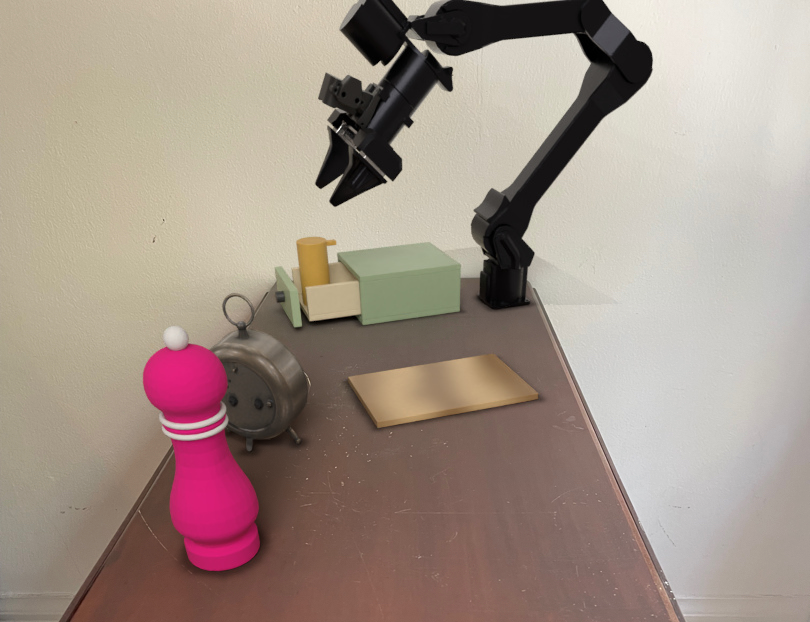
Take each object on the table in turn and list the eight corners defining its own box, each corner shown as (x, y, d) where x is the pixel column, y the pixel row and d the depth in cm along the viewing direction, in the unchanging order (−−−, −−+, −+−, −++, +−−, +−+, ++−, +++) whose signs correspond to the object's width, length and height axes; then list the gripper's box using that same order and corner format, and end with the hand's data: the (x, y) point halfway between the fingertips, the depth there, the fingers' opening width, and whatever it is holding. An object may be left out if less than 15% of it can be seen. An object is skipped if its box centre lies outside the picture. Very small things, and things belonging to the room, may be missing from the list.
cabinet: (362, 325, 104) (359, 276, 100) (340, 297, 114) (336, 252, 110) (459, 311, 108) (461, 264, 104) (429, 285, 118) (429, 241, 114)
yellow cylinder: (336, 295, 109) (331, 234, 104) (343, 303, 106) (338, 241, 101) (300, 299, 108) (293, 238, 103) (306, 308, 105) (299, 245, 99)
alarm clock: (315, 438, 77) (298, 289, 67) (294, 462, 73) (272, 307, 63) (229, 424, 80) (200, 280, 70) (203, 447, 76) (169, 297, 66)
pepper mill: (247, 580, 58) (198, 348, 46) (167, 570, 59) (99, 342, 47) (277, 529, 63) (240, 311, 51) (203, 521, 65) (150, 306, 53)
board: (493, 358, 93) (493, 353, 92) (538, 399, 83) (538, 393, 83) (348, 382, 88) (347, 376, 88) (377, 428, 78) (377, 421, 78)
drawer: (286, 328, 101) (281, 291, 98) (271, 302, 111) (266, 267, 108) (388, 314, 105) (387, 278, 102) (366, 289, 114) (364, 256, 111)
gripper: (336, 37, 93) (266, 138, 98) (373, 53, 79) (290, 170, 84) (394, 101, 100) (326, 193, 105) (437, 126, 86) (357, 230, 91)
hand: (324, 195), depth 96 cm, fingers open, 9 cm apart
